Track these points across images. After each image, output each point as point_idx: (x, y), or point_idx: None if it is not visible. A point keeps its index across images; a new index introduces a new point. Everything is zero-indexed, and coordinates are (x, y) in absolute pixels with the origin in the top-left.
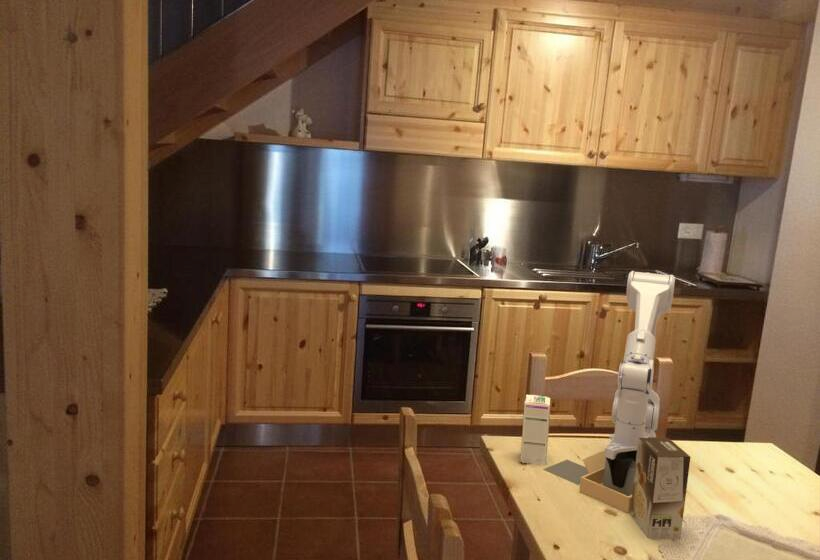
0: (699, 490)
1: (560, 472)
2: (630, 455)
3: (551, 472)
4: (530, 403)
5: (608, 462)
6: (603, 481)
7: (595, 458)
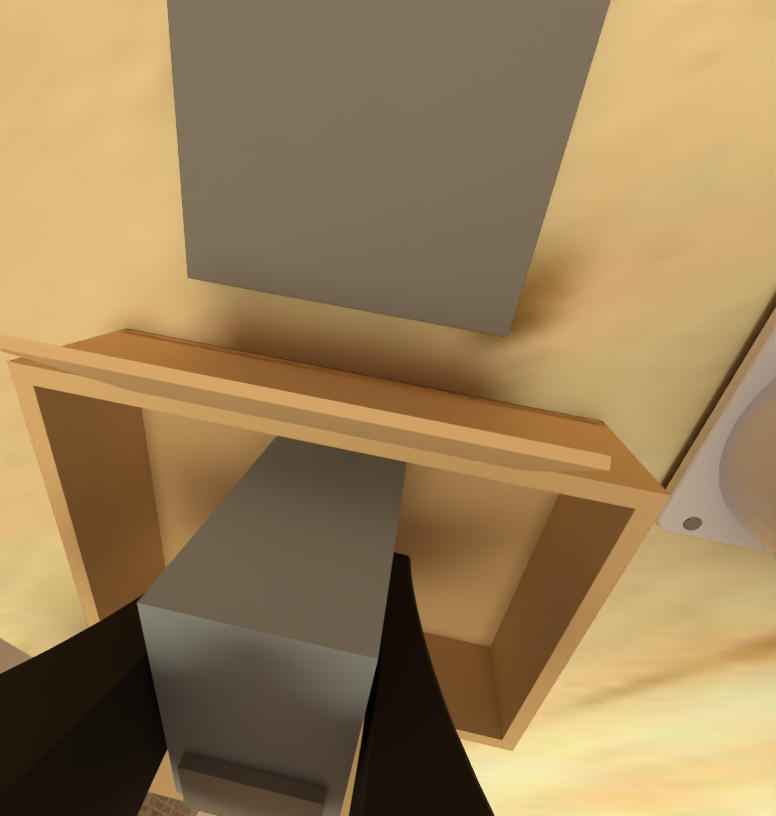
0: (640, 732)
1: (252, 9)
2: (356, 811)
3: None
4: None
5: (46, 655)
6: (266, 448)
7: (265, 407)
